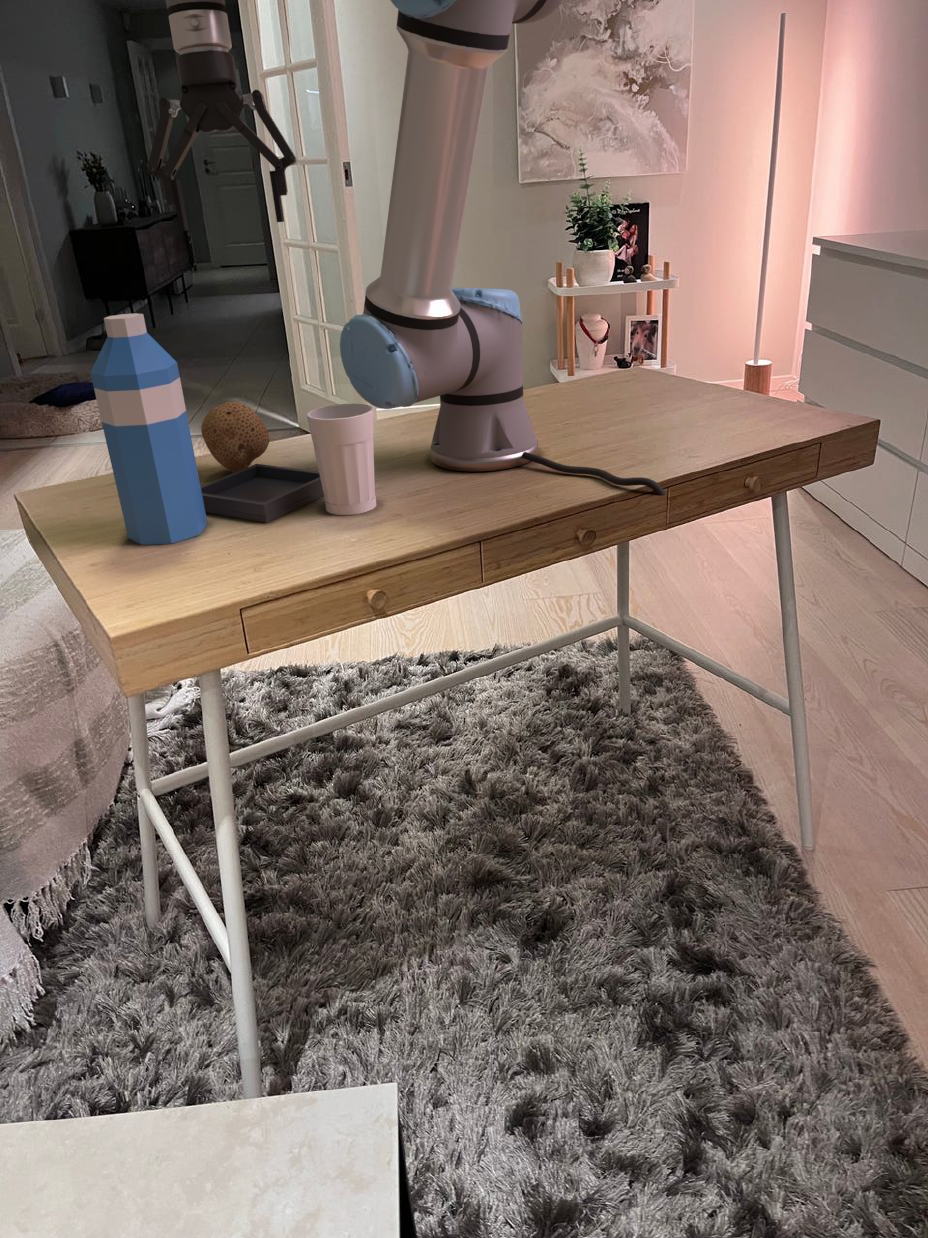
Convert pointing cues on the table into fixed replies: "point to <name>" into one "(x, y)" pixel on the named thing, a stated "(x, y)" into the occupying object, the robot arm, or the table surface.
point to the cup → (345, 456)
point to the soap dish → (261, 492)
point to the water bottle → (147, 435)
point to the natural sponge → (234, 435)
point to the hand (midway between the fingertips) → (232, 226)
